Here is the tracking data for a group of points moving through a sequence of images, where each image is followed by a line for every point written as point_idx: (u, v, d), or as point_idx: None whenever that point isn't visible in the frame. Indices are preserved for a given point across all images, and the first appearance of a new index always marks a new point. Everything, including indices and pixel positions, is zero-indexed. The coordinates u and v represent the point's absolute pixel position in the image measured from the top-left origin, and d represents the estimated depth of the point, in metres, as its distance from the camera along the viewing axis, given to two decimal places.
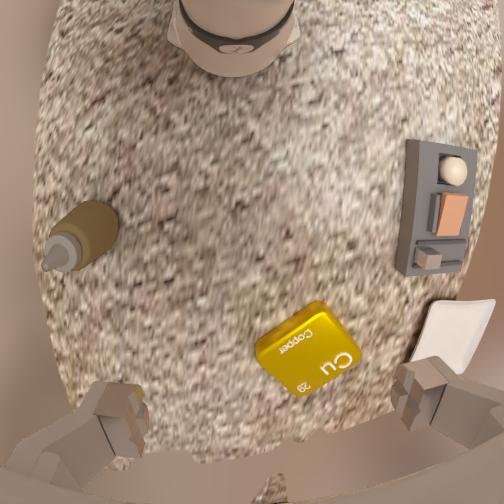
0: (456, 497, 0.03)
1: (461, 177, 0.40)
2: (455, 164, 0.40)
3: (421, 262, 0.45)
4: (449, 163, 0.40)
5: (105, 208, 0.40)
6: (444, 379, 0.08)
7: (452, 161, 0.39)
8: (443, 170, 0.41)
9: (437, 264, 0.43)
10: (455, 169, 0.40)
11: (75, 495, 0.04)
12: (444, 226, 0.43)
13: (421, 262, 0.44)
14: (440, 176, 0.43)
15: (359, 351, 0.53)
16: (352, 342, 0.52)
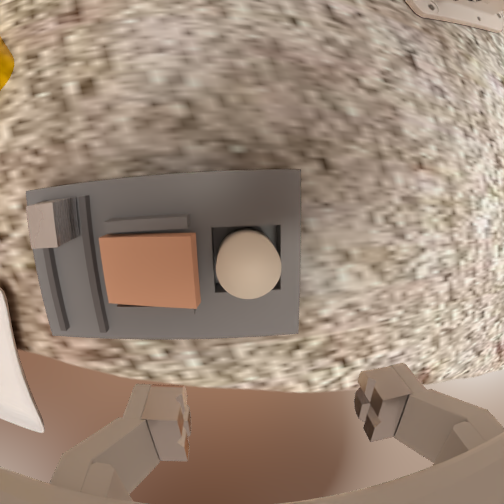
0: (456, 497, 0.03)
1: (237, 282, 0.22)
2: (265, 258, 0.21)
3: (43, 202, 0.19)
4: (266, 241, 0.21)
5: None
6: (408, 389, 0.07)
7: (272, 247, 0.21)
8: (244, 233, 0.22)
9: (37, 239, 0.18)
10: (253, 260, 0.21)
11: (75, 495, 0.04)
12: (121, 254, 0.21)
13: (42, 202, 0.19)
14: (228, 235, 0.23)
15: None
16: None
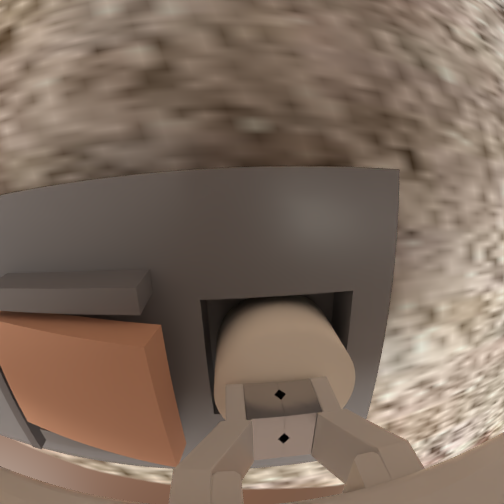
0: (456, 497, 0.03)
1: None
2: (323, 373, 0.09)
3: None
4: (330, 338, 0.09)
5: None
6: (319, 406, 0.07)
7: (341, 350, 0.09)
8: (276, 313, 0.10)
9: None
10: (298, 378, 0.09)
11: (75, 495, 0.04)
12: (19, 354, 0.08)
13: None
14: (240, 310, 0.11)
15: None
16: None
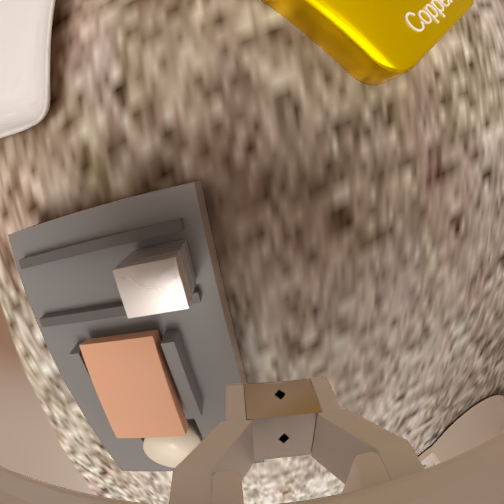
0: (456, 497, 0.03)
1: (156, 446, 0.20)
2: None
3: (183, 263, 0.15)
4: None
5: None
6: (319, 406, 0.07)
7: None
8: (199, 437, 0.21)
9: (129, 282, 0.13)
10: (179, 454, 0.20)
11: (75, 495, 0.04)
12: (142, 366, 0.17)
13: (183, 264, 0.15)
14: (191, 419, 0.22)
15: None
16: None
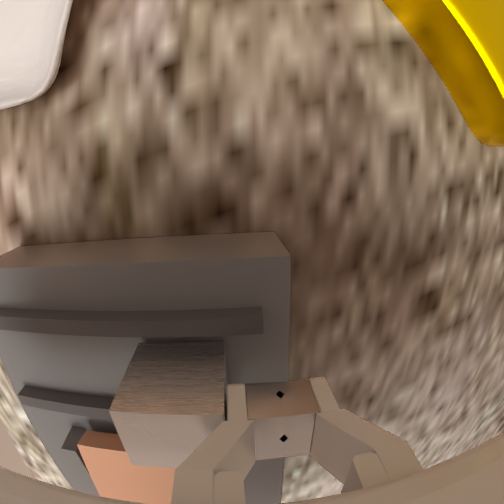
0: (456, 497, 0.03)
1: None
2: None
3: (225, 400, 0.08)
4: None
5: None
6: (318, 407, 0.07)
7: None
8: None
9: (138, 431, 0.07)
10: None
11: (75, 495, 0.04)
12: (168, 482, 0.10)
13: (226, 402, 0.08)
14: None
15: None
16: None
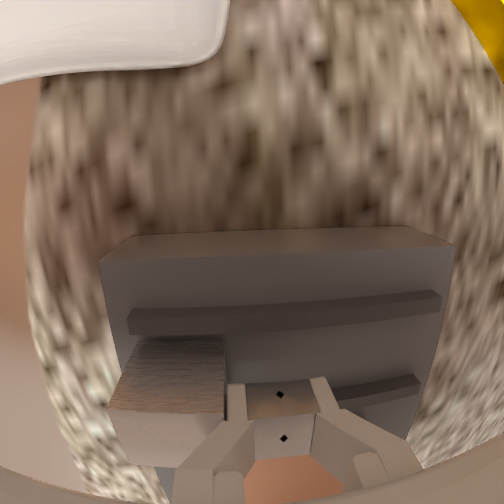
0: (456, 497, 0.03)
1: None
2: None
3: (225, 399, 0.08)
4: None
5: None
6: (318, 407, 0.07)
7: None
8: None
9: (136, 430, 0.07)
10: None
11: (75, 495, 0.04)
12: (325, 473, 0.11)
13: (225, 401, 0.08)
14: None
15: None
16: None
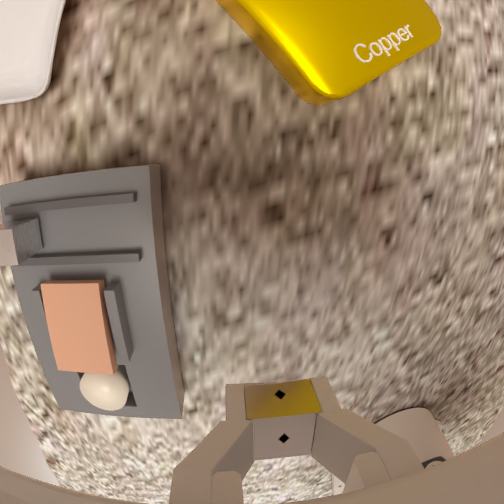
0: (456, 497, 0.03)
1: (90, 385, 0.23)
2: (112, 402, 0.24)
3: (23, 234, 0.17)
4: None
5: None
6: (319, 406, 0.07)
7: (121, 406, 0.24)
8: (127, 384, 0.24)
9: None
10: (109, 396, 0.23)
11: (75, 495, 0.04)
12: (86, 307, 0.20)
13: (23, 235, 0.17)
14: (123, 367, 0.25)
15: None
16: (244, 4, 0.17)
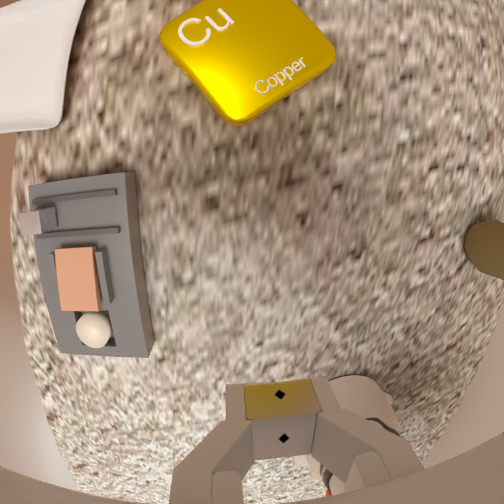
0: (456, 497, 0.03)
1: (83, 326, 0.34)
2: (98, 340, 0.34)
3: (45, 215, 0.28)
4: None
5: (479, 267, 0.36)
6: (319, 406, 0.07)
7: (104, 344, 0.34)
8: (110, 327, 0.35)
9: (23, 219, 0.27)
10: (96, 335, 0.34)
11: (75, 495, 0.04)
12: (83, 264, 0.31)
13: (45, 215, 0.28)
14: (108, 315, 0.36)
15: (165, 45, 0.28)
16: (180, 62, 0.28)
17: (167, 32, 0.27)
